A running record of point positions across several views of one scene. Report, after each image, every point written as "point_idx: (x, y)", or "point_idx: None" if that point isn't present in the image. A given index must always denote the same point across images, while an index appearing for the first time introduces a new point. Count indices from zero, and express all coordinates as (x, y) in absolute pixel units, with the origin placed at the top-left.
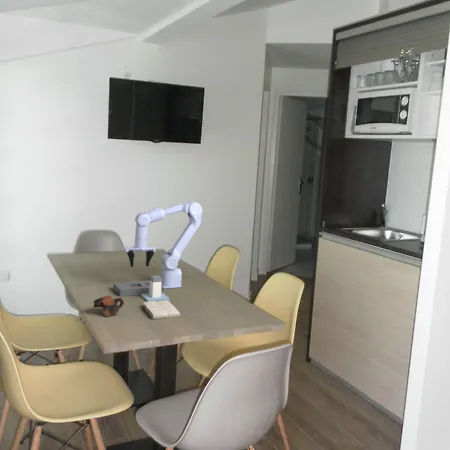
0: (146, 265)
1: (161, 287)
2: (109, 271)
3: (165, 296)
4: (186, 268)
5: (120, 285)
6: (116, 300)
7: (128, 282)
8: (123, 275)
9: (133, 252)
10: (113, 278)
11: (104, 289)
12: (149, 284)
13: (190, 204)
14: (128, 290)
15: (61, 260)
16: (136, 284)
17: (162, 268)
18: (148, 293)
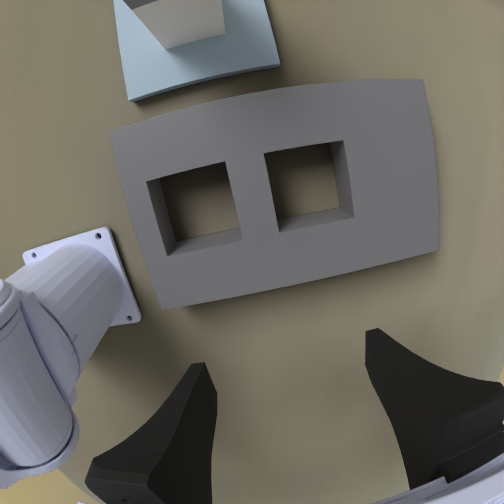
0: (211, 382)
1: (118, 129)
2: (346, 469)
3: (125, 14)
4: (72, 471)
5: (414, 185)
6: None
7: (353, 257)
8: (308, 445)
9: (441, 460)
10: (363, 409)
11: (454, 236)
12: (197, 244)
13: None
14: (372, 80)
15: None
16: (299, 225)
17: (69, 342)
18: (226, 68)
